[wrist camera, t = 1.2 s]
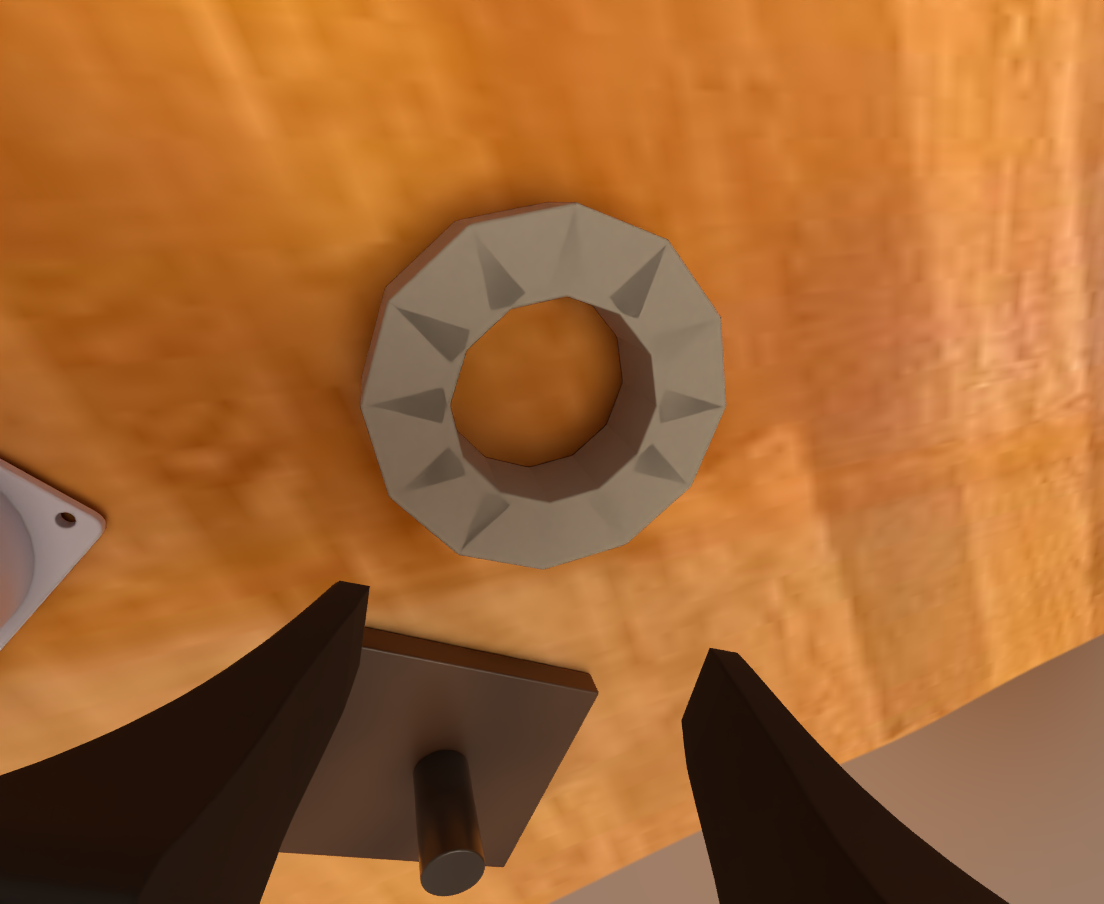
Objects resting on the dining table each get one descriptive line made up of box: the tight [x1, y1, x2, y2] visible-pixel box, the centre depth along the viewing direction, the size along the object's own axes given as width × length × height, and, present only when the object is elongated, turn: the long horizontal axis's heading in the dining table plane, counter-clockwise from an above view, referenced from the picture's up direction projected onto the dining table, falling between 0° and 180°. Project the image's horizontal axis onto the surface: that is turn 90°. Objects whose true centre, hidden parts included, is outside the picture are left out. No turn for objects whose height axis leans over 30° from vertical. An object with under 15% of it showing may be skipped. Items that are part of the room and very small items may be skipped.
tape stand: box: [279, 627, 598, 896], centre depth 24 cm, size 10×10×6 cm
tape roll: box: [360, 202, 726, 569], centre depth 20 cm, size 11×11×3 cm
